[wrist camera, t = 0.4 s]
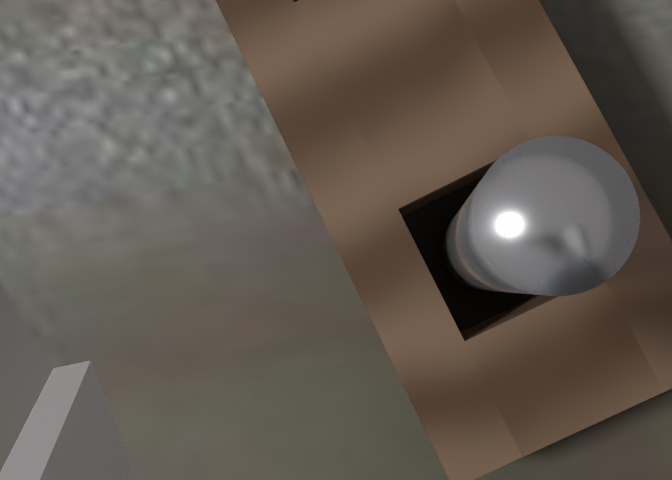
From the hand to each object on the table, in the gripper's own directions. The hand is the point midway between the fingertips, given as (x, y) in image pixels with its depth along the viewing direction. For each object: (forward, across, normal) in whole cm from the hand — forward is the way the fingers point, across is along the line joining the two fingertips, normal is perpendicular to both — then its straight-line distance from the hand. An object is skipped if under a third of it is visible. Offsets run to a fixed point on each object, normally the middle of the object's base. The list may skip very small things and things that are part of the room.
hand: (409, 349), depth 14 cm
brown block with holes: (+19, -4, -1) cm, 19 cm away
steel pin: (+15, -6, +6) cm, 17 cm away
